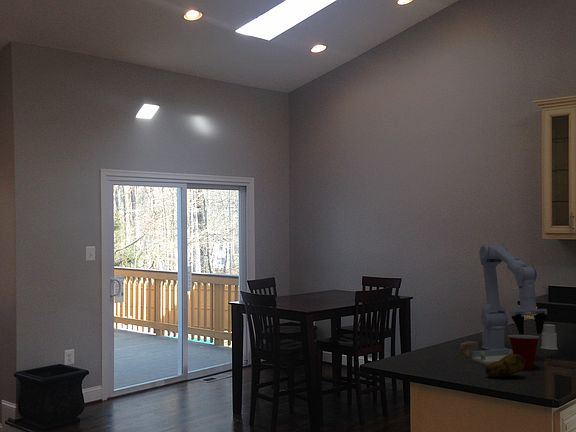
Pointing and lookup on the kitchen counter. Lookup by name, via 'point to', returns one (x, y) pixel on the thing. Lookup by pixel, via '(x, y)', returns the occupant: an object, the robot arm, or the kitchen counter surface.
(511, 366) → the potato
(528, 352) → the plastic cup
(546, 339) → the white threaded pipe fitting
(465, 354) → the brown tapered block
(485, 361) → the board
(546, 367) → the kitchen counter surface
